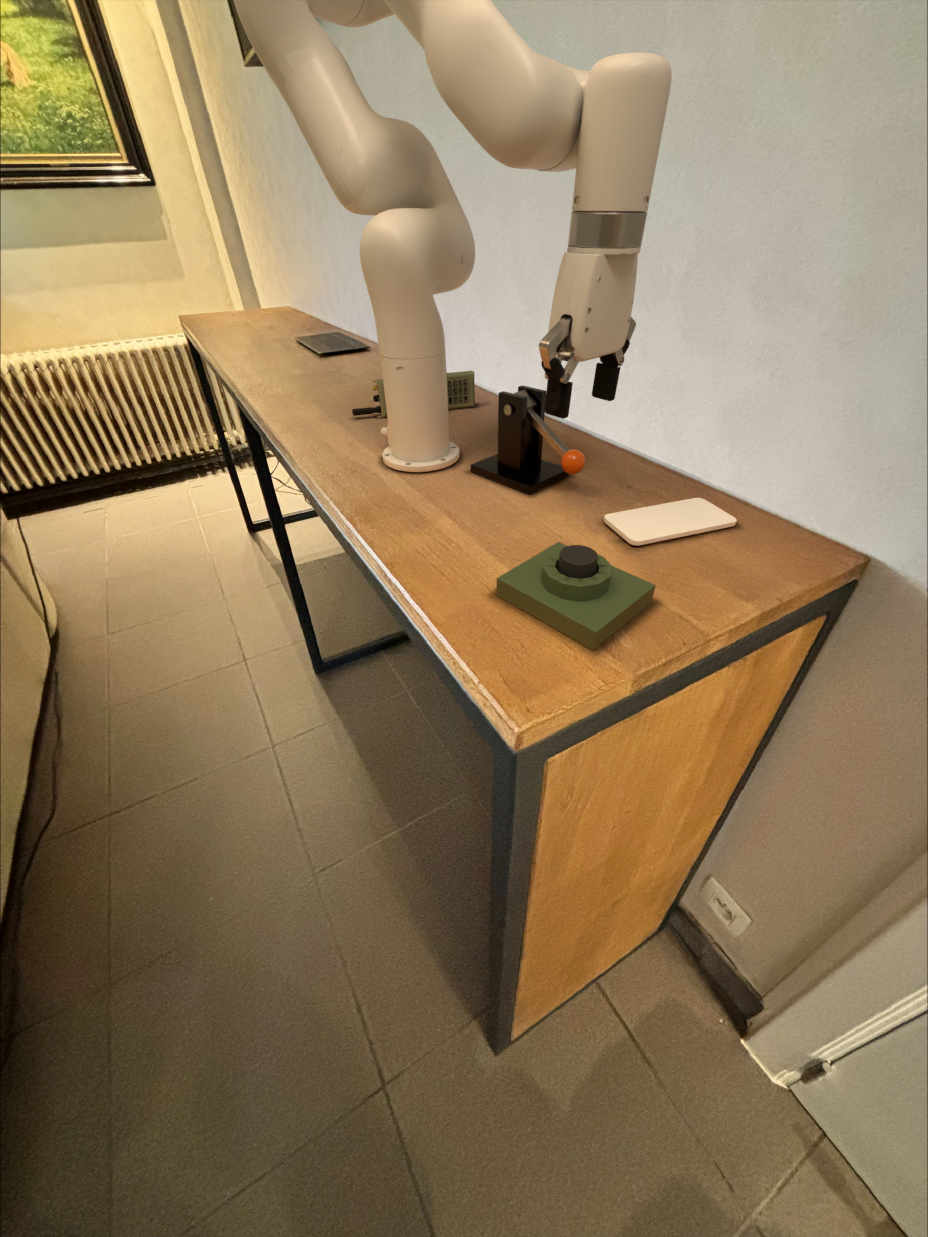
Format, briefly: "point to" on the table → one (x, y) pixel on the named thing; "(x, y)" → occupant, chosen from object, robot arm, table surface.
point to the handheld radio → (457, 391)
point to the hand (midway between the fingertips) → (580, 406)
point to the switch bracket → (519, 447)
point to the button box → (575, 596)
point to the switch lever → (554, 439)
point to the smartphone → (668, 521)
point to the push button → (577, 561)
